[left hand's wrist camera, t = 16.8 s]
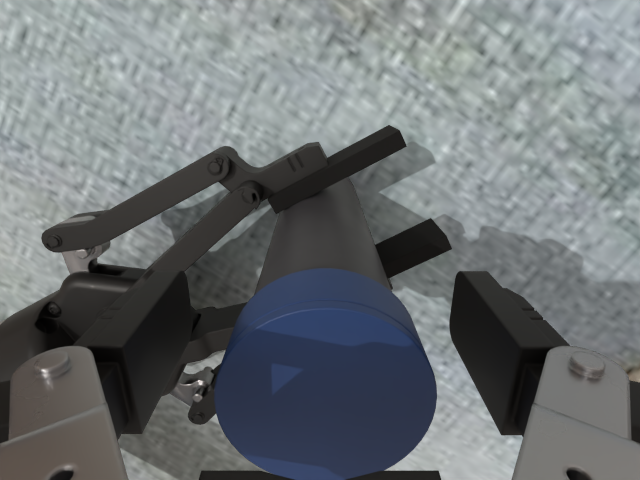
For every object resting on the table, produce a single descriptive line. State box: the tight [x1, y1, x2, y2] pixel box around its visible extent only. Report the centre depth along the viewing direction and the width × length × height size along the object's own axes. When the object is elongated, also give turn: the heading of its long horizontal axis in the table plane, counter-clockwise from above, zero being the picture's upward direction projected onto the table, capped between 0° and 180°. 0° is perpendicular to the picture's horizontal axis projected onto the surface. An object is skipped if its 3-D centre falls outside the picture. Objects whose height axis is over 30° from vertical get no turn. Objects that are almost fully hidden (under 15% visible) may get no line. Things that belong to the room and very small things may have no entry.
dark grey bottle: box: [254, 177, 392, 295], centre depth 18 cm, size 5×5×18 cm
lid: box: [214, 268, 437, 480], centre depth 10 cm, size 5×5×2 cm
